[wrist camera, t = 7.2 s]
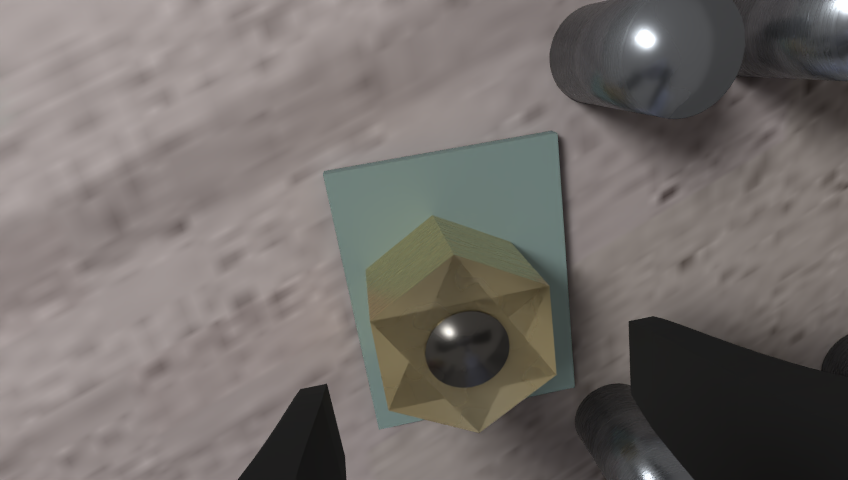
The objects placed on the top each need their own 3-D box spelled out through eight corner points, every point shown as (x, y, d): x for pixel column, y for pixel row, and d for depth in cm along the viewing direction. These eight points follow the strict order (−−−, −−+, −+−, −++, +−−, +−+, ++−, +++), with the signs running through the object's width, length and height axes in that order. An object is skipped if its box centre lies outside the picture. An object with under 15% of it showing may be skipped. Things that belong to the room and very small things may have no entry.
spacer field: (883, 384, 22) (1013, 463, 17) (577, 453, 21) (636, 555, 16) (952, -54, 16) (1164, -94, 12) (546, 11, 15) (621, -7, 11)
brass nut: (521, 351, 18) (560, 416, 15) (387, 378, 18) (396, 452, 15) (506, 201, 16) (546, 237, 13) (357, 228, 16) (359, 273, 13)
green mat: (569, 379, 20) (574, 387, 19) (378, 420, 19) (379, 429, 18) (551, 130, 16) (557, 133, 16) (323, 171, 16) (323, 174, 15)
